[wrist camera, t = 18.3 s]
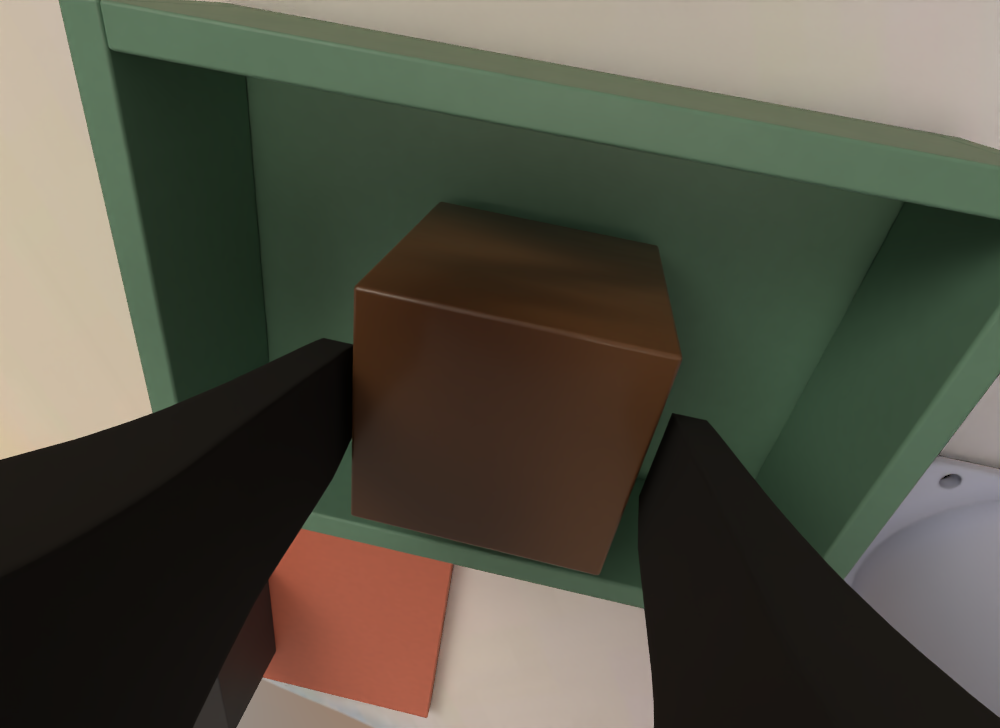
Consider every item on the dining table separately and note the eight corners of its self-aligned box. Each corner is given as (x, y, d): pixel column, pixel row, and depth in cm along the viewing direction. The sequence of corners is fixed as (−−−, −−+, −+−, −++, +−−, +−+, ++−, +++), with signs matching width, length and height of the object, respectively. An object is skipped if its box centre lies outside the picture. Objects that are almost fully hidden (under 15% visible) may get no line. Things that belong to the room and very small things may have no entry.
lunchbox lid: (456, 548, 20) (425, 658, 17) (430, 705, 26) (403, 811, 23) (41, 452, 21) (-72, 537, 18) (107, 625, 27) (32, 715, 24)
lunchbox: (961, 137, 11) (1140, 191, 8) (753, 510, 17) (796, 645, 13) (223, 2, 12) (53, -10, 8) (261, 400, 18) (171, 499, 14)
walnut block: (659, 245, 12) (685, 358, 8) (602, 422, 15) (599, 578, 11) (439, 199, 13) (352, 285, 8) (422, 381, 15) (349, 516, 11)
